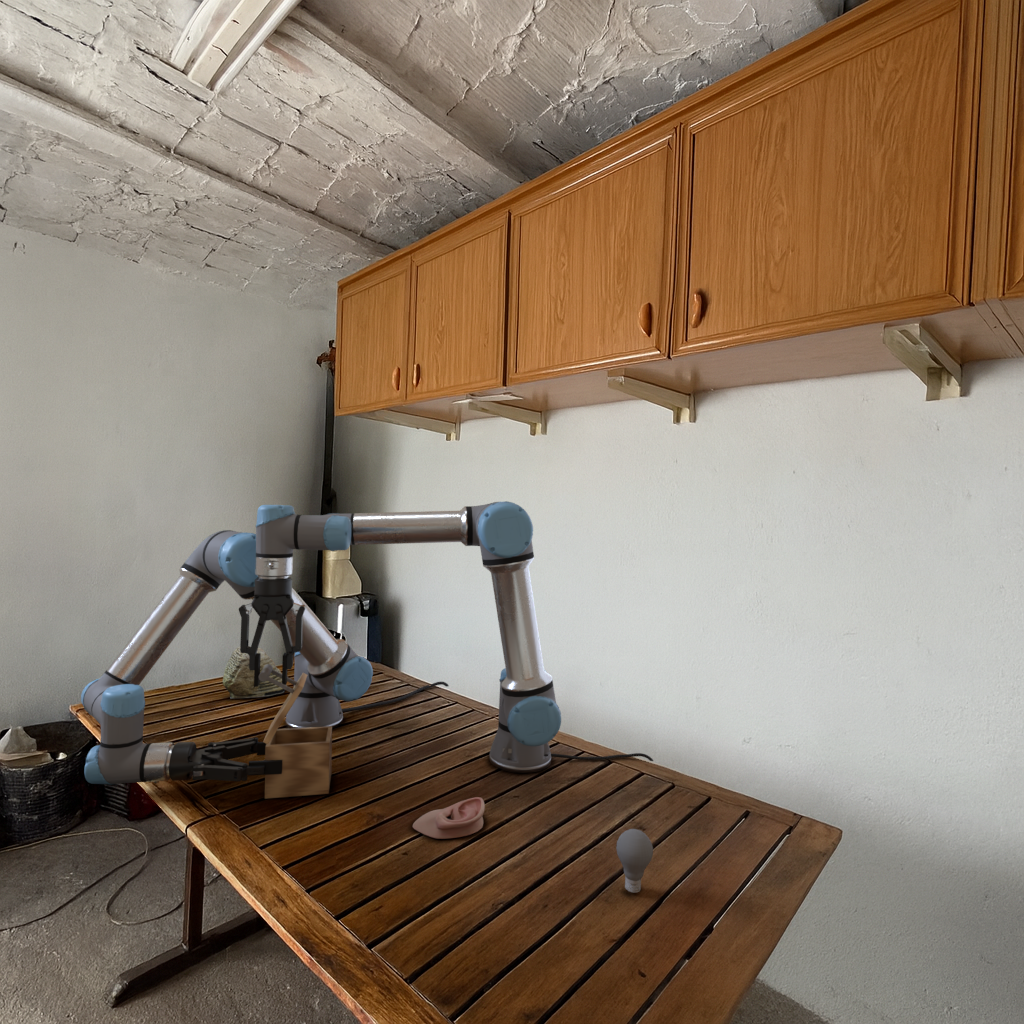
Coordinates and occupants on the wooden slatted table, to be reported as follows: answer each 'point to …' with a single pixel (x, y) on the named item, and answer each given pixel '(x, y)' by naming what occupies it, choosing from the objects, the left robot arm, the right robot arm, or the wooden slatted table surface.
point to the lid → (289, 701)
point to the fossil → (249, 677)
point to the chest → (300, 762)
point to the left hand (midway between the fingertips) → (285, 756)
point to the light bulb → (634, 857)
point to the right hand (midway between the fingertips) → (270, 684)
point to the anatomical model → (453, 820)
